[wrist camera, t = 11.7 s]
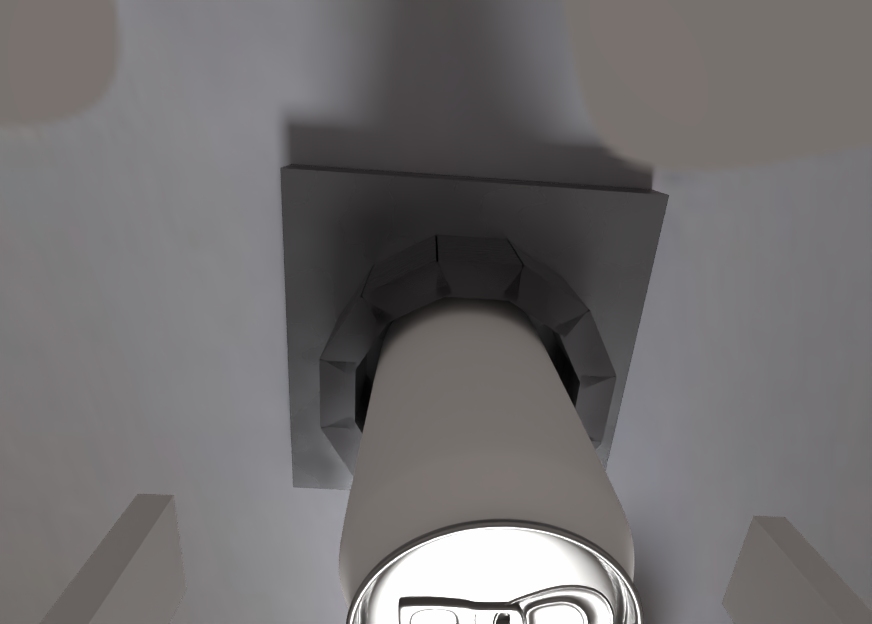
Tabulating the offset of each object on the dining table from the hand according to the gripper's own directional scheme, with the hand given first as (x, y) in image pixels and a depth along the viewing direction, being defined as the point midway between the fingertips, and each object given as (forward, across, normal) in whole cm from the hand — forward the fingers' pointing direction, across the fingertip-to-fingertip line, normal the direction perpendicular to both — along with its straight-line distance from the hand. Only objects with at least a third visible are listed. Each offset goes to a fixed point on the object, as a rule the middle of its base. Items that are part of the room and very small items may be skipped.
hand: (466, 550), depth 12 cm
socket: (+11, +1, 0) cm, 11 cm away
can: (+10, 0, 0) cm, 10 cm away
